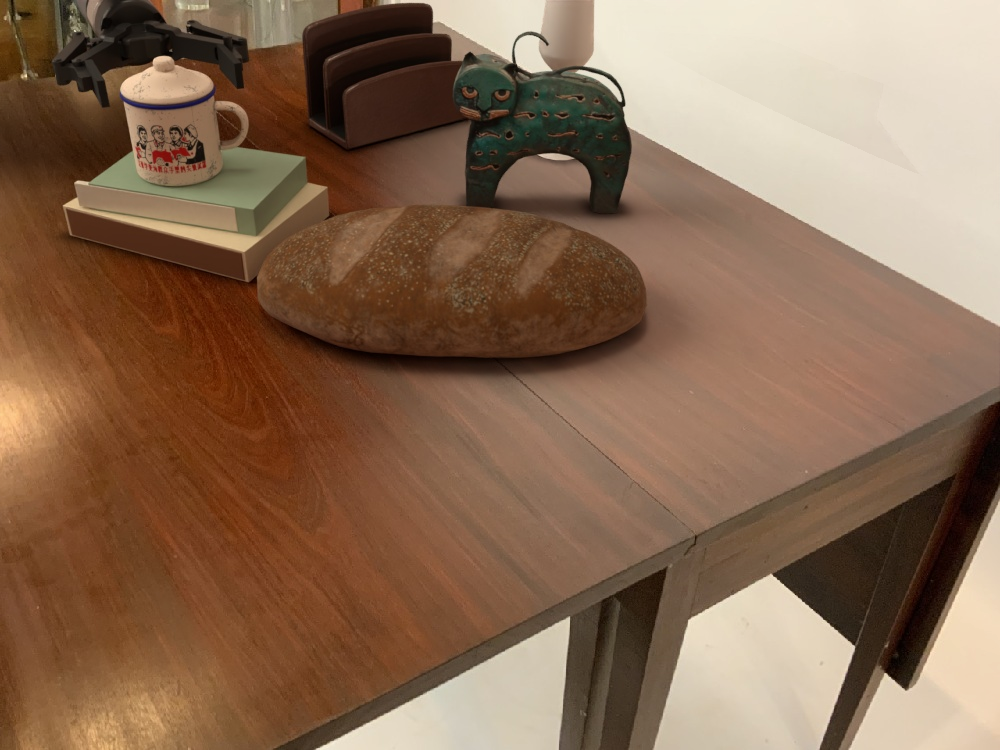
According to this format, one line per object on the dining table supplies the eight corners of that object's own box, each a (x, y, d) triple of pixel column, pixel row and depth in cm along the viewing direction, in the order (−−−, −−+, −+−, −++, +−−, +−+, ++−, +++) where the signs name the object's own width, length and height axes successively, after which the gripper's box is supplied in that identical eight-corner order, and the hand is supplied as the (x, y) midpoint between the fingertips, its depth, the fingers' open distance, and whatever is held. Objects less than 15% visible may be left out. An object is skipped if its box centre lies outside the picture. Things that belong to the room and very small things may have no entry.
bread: (282, 243, 103) (274, 169, 98) (630, 255, 104) (640, 183, 99) (238, 365, 85) (226, 282, 80) (657, 378, 87) (671, 298, 81)
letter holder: (307, 125, 128) (298, 16, 120) (429, 96, 139) (429, -6, 130) (347, 151, 122) (341, 39, 114) (472, 119, 133) (475, 13, 124)
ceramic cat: (450, 215, 110) (453, 36, 98) (452, 189, 115) (455, 17, 103) (625, 220, 111) (649, 44, 99) (619, 195, 116) (640, 24, 104)
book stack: (69, 235, 102) (55, 178, 99) (165, 176, 115) (156, 124, 111) (248, 283, 96) (240, 224, 93) (329, 215, 109) (325, 161, 105)
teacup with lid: (126, 189, 97) (103, 74, 90) (144, 151, 105) (124, 42, 98) (248, 189, 99) (235, 75, 92) (258, 152, 106) (246, 44, 99)
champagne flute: (582, 140, 129) (601, -53, 114) (584, 161, 123) (605, -39, 109) (531, 137, 128) (544, -56, 114) (531, 158, 123) (545, -42, 109)
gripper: (237, 44, 121) (294, 103, 106) (20, 69, 111) (51, 139, 96) (229, -19, 116) (288, 33, 102) (3, 1, 106) (32, 63, 91)
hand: (173, 85), depth 99 cm, fingers open, 13 cm apart
